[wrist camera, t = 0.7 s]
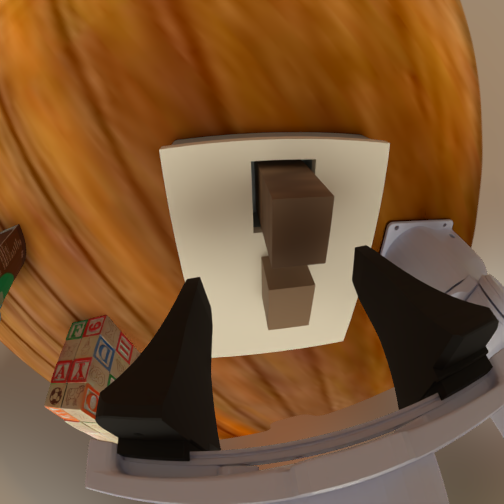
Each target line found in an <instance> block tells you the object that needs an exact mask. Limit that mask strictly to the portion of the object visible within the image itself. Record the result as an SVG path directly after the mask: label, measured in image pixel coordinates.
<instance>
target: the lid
mask: <svg viewBox="0 0 504 504" xmlns="http://www.w3.org/2000/svg"><path fill="white" fill-rule="evenodd" d="M389 148H390V143H388V142H386V141H384V140H373V139H360V138H344V137H316V136H281V137H252V138H235V139H222V140H211V141H201V142H192V143H184V144H176V145H169V146H162V147H161V148H160V149H159V152H160V159H161V165H162V172H163V178H164V184H165V189H166V195H167V200H168V206H169V211H170V216H171V221H172V226H173V231H174V236H175V240H176V245H177V250H178V254H179V259H180V263H181V267H182V271H183V276H184V280H185V281H186V280H187V279H190V278H196V277H200V278H201V281H202V284H203V287H204V289H205V292H206V295H207V297H208V300H209V303H210V305H211V310H212V323H213V333H212V356H211V358H215V357H229V356H240V355H251V354H260V353H269V352H277V351H285V350H292V349H299V348H306V347H312V346H318V345H324V344H329V343H335V342H340V341H343V340H344V337H345V334H346V331H347V328H348V325H349V323H350V320H351V316H352V313H353V310H354V307H355V304H356V301H357V297H358V295H357V293H356V290H355V288H354V285H353V282H352V274H353V264H354V252H355V247H360V246H365V245H367V246H369V247H370V248H371V246H372V242H373V238H374V233H375V229H376V224H377V220H378V215H379V210H380V205H381V199H382V194H383V188H384V182H385V176H386V170H387V163H388V156H389ZM296 159H312V169H311V171H312V172H313V173H314V174H315V175H316V176H317V177H318V178H319V179H320V181H321V182H322V183H323V184H324V185H325V186H326V187H327V188H328V190H329V191H330V192H331V193H332V194H333V195H334V205H333V213H332V221H331V229H330V236H329V243H328V250H327V257H326V263H324V264H314V265H305V266H295V267H284V268H274V269H272V267H271V263H270V259H269V256H268V252H267V248H266V244H265V240H264V236H263V233H262V229H261V227H253V205H252V177H251V161H267V160H296Z"/></svg>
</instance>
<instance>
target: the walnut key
mask: <svg viewBox="0 0 504 504" xmlns="http://www.w3.org/2000/svg"><path fill="white" fill-rule="evenodd" d="M254 172H255V205H256V210H257V214H258V218H259V221H260V225H261V229H262V233H263V236H264V240H265V244H266V248H267V252H268V256H269V259H270V263H271V267H272V269H274V268H284V267H295V266H305V265H314V264H324V263H326V257H327V250H328V243H329V236H330V229H331V221H332V213H333V205H334V195H333V194H332V193H331V192H330V191H329V190H328V188H327V187H326V186H325V185H324V184H323V183H322V182H321V181H320V179H319V178H318V177H317V176H316V175H315V174H314V173H313V172H312V171H311V170H310V169H309V167H308V166H307V165H306V164H305V163H304V162H303V161H302V160H301V159H296V160H267V161H254Z"/></svg>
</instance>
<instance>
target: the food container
mask: <svg viewBox="0 0 504 504" xmlns="http://www.w3.org/2000/svg"><path fill="white" fill-rule="evenodd" d="M25 258H26V245H25V240H24V236H23V233H22V231H21V228H20V226H19V224H18V225H16V226H13V227H11V228H8V229H6V230H4V231H2V232H0V307H1V305H2V303H3V301H4V299H5V297H6V295H7V293H8V291H9V289H10V287H11V285H12V283H13V281H14V279H15V278H16V276H17V274H18V272H19V271H20V269H21V267H22V265H23V264H24V261H25ZM0 320H1V314H0Z"/></svg>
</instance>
